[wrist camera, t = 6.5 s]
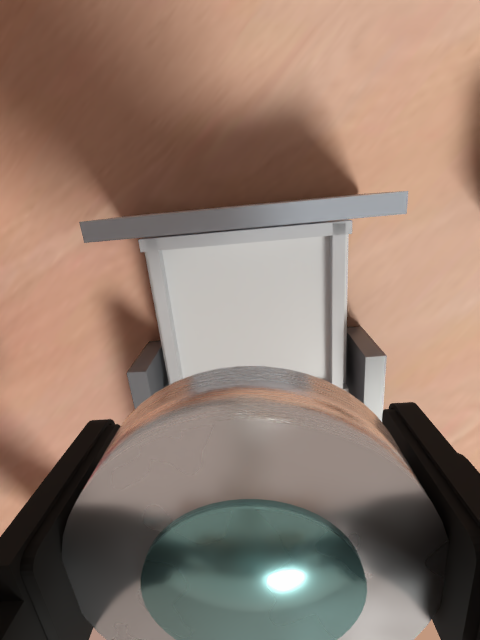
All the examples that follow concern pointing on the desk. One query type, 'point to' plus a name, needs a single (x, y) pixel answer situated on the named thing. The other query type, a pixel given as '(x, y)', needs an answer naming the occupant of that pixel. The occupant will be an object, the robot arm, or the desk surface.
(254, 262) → the grey drawer
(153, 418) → the disc
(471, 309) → the desk surface
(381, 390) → the dark grey drawer housing
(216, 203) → the desk surface
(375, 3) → the desk surface
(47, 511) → the robot arm
